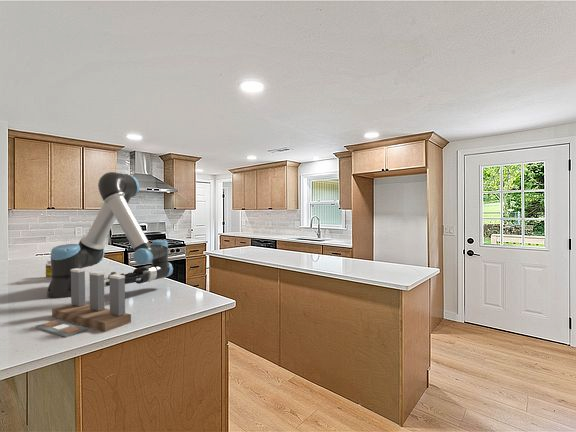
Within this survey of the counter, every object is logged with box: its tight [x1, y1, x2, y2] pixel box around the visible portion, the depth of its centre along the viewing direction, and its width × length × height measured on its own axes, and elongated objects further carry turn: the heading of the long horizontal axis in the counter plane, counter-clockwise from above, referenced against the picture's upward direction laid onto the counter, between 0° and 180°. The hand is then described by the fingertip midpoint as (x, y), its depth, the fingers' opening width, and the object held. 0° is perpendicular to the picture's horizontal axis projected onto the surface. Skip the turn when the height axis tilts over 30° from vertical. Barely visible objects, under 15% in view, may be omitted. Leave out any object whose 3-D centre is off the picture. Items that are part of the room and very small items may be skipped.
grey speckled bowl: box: [104, 271, 118, 280], centre depth 188 cm, size 12×12×5 cm
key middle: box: [88, 270, 105, 311], centre depth 125 cm, size 3×5×14 cm, turn 63°
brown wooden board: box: [51, 303, 132, 333], centre depth 123 cm, size 32×10×3 cm, turn 63°
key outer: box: [108, 273, 126, 316], centre depth 119 cm, size 3×5×14 cm, turn 63°
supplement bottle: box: [45, 259, 51, 279], centre depth 192 cm, size 6×6×10 cm
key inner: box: [70, 268, 86, 306], centre depth 130 cm, size 3×5×14 cm, turn 63°
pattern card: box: [35, 319, 88, 338], centre depth 113 cm, size 18×7×1 cm, turn 63°
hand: (97, 285), depth 137 cm, fingers closed
